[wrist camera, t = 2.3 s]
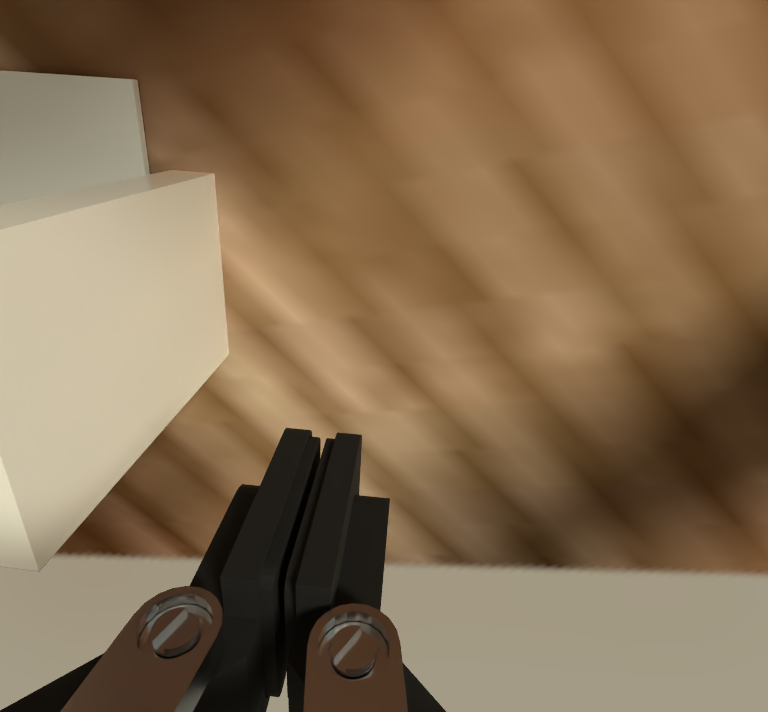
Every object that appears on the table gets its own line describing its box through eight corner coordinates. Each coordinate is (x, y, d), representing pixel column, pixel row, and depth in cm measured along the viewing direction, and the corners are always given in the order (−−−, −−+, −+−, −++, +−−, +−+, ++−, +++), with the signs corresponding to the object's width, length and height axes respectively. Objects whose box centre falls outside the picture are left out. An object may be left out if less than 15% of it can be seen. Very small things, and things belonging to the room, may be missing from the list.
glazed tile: (214, 173, 23) (-69, 248, 10) (228, 354, 26) (39, 571, 14) (164, 169, 23) (-177, 238, 10) (186, 350, 27) (-40, 561, 14)
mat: (137, 80, 21) (132, 79, 21) (180, 406, 28) (177, 409, 28) (-172, 59, 22) (-182, 58, 22) (-56, 380, 29) (-62, 383, 29)
